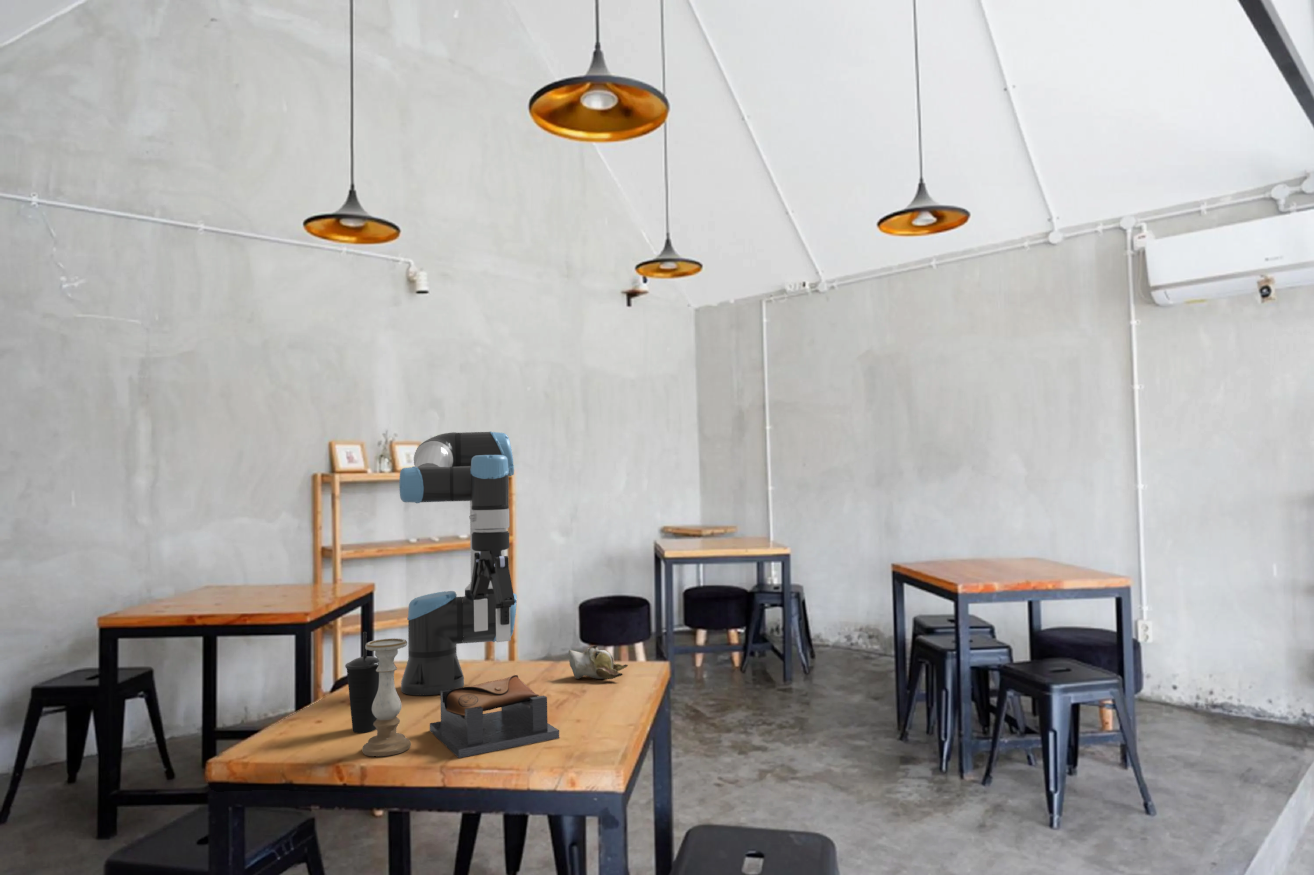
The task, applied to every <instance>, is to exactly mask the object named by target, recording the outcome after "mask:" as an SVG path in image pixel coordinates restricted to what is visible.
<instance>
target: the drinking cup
mask: <svg viewBox="0 0 1314 875" xmlns="http://www.w3.org/2000/svg"><path fill="white" fill-rule="evenodd" d="M367 634H368V633H367V631H363V632H362V656H359V657H356V658H354V659H352V660H351V661H348V662H347V663H345V665H344V668H345V669H346V674H347V684H348V695H349V697H348V698H349V705H350V706H349V707H350V715H351V727H352V728H351V729H352V732H353V733H357V734H363V733H370V732H373V731H377V729H376V727H375V726H374V722H375V721H376V719H377V718H376V717H375V716H374V715H373V713H372V704H373V701H374V699H375V697H376V694H377V691H378V687H379V672H376V669H377V667H378V666H379V660H378V658H377V657H376V656H368V654H367V652H368V650H367V649H366V648H365V646H366V644H367V643H368V642H367V638H368V637H367Z"/></svg>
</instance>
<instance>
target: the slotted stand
mask: <svg viewBox="0 0 1314 875" xmlns="http://www.w3.org/2000/svg"><path fill="white" fill-rule="evenodd" d="M454 689H455V688H454ZM451 690H453V689H448V690H441V694H440V721H436V722H431V723H429V732H431V734H432V735H434V736H435V737H436V738H437V739H438V740H439V741H440V742H441V743H442V744H443V745H444V746H445V747H446V748H447V749H448V750H449V751H451V752H452V753H453V755H455V756H456V757H457V758H458V759H462V758H467V757H471V756H476V755H481V754H486V753H491V752H496V751H497V752H498V751H501V750H505V749H512V748H516V747H521V746H526V745H530V744H536V743H540V742H541V743H542V742H547V741H552V740H555V739H560V730H559V729H557V728H556V727H555V726H553V725H551V724H550V723H548V697H547V696H546V695H539V696H537V697H532V698H530V699H529V700H526V701H524V702H520V703H517V704H513V705H509V706H504V707H500V708H501V710H498V711H492V712H486V713H484V711H483V708H482V707H481V706H479V707H473V708H467V709H465V716H461V715H456V714H453V713H451V712H449V711H446V708H445V697H446V695H447V693H448V692H450V691H451Z"/></svg>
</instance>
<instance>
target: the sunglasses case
mask: <svg viewBox="0 0 1314 875" xmlns="http://www.w3.org/2000/svg"><path fill="white" fill-rule="evenodd" d="M538 696H540V694H537V693H535V692H534V691H533V690H532V689H531V688H530V687H529V686H527V684H526V683H525V682H524V681H522V679H520V678H519V675H518V674H514V675H511V676H509V677H506V678H501V679H495V680H491V681H487V682H483V683H479V684H475V685H470V686H469V685H467V686H463V687H460V688H456V689H453V690H451V691H450V692H448V693H447V695H446V697H445V708H446V711H449V712H451V713H453V714H456V715H461V716H465V709H467V708H473V707H479V706H481V707H482V708H483V712H486V711H487V712H488V711H491V710H496V709H499V708H501V707H504V706H509V705H513V704H517V703H520V702H524V701H526V700H529V699H530V698H532V697H538Z"/></svg>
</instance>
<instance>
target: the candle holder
mask: <svg viewBox="0 0 1314 875" xmlns="http://www.w3.org/2000/svg"><path fill="white" fill-rule="evenodd" d="M406 647H408V641H407V640H406V639H404V638H395V637H394V638H381V639H374V640H371V641H368V642H367V644H366V646H365V648H366V649H367V651H371V652H374V657H376V658H378V660H379V666H378V667H377V669H376V672H379V687H378V691H377V694H376V697H375V699H374V701H373V704H372V713H373V715H374V716H375V717H376V718H377V719H376V721H375V722H374V726H375V727H376V732H377V733H376V735H374V736H372V737H370V738H369V739H368V740H367V742H366V743H364V745H362V754H364V755H365V756H368V757H374V756H376V757H379V758H380V757H389V756H395V755H398V754H402V753H404V752H406V751H408V750H409V749H410V748H411V746H412V742H411V740H410V738H408V737H406V735H405V734H404V733H401V732H397V729H398V728H397V727H398V725H399V724H400V722H401V720H400V718H398V717H397V716H399V714H400V712H401V710H402V702H401V699H400V696H399V694H398V692H397V689H396V686H395V671H396V670H398V668H397V666H396V664H395V658H396V656H397V655H398V654H399V651H398V650H400V649H403V648H406ZM376 757H375V758H376Z"/></svg>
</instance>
